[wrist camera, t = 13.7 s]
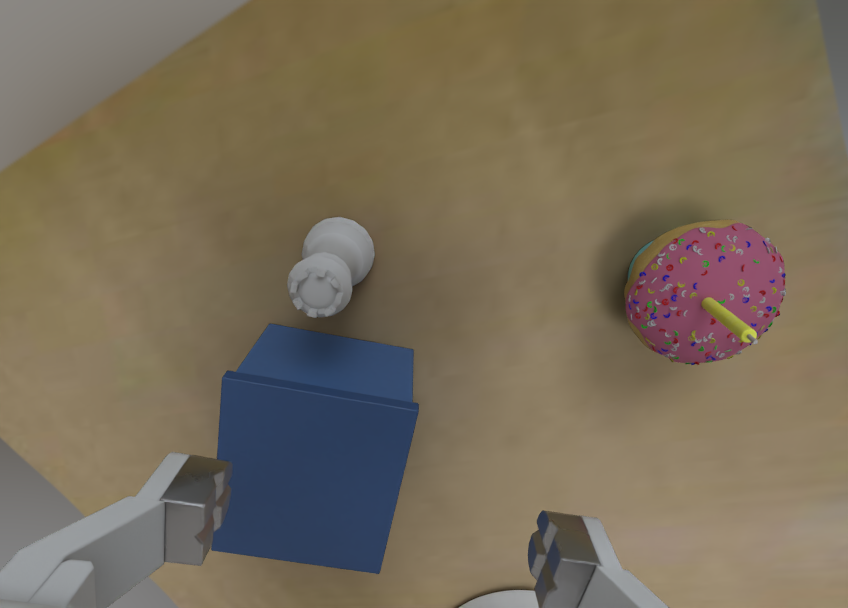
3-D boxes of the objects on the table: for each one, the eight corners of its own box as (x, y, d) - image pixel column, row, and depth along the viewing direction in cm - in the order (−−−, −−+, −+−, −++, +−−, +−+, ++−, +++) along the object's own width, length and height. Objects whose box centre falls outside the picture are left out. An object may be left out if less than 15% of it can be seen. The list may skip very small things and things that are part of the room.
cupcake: (579, 310, 33) (661, 413, 22) (634, 187, 30) (763, 233, 19) (692, 342, 34) (827, 456, 23) (757, 226, 31) (949, 292, 20)
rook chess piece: (295, 265, 31) (256, 313, 24) (321, 203, 30) (289, 233, 23) (358, 293, 32) (340, 349, 25) (387, 234, 31) (376, 274, 23)
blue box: (386, 486, 38) (379, 574, 31) (251, 465, 37) (210, 550, 30) (418, 346, 34) (419, 411, 26) (265, 318, 33) (221, 377, 26)
